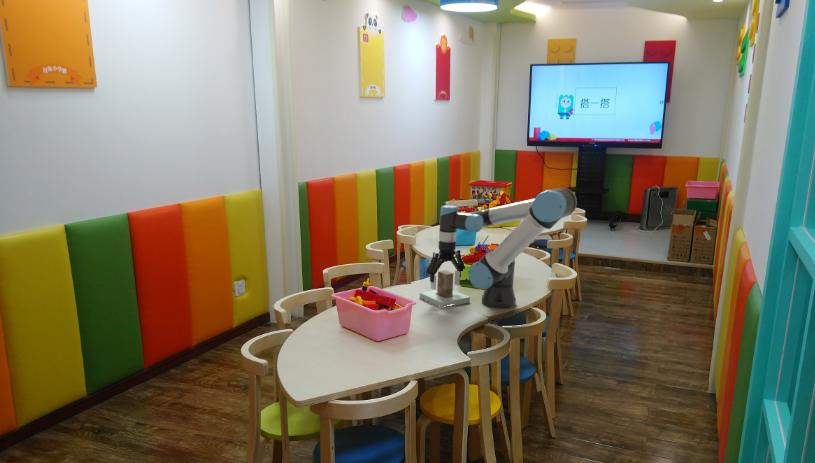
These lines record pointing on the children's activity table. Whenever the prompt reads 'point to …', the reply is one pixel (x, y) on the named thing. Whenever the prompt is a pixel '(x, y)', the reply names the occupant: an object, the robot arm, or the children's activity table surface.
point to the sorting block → (441, 301)
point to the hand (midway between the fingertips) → (445, 286)
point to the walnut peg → (445, 284)
